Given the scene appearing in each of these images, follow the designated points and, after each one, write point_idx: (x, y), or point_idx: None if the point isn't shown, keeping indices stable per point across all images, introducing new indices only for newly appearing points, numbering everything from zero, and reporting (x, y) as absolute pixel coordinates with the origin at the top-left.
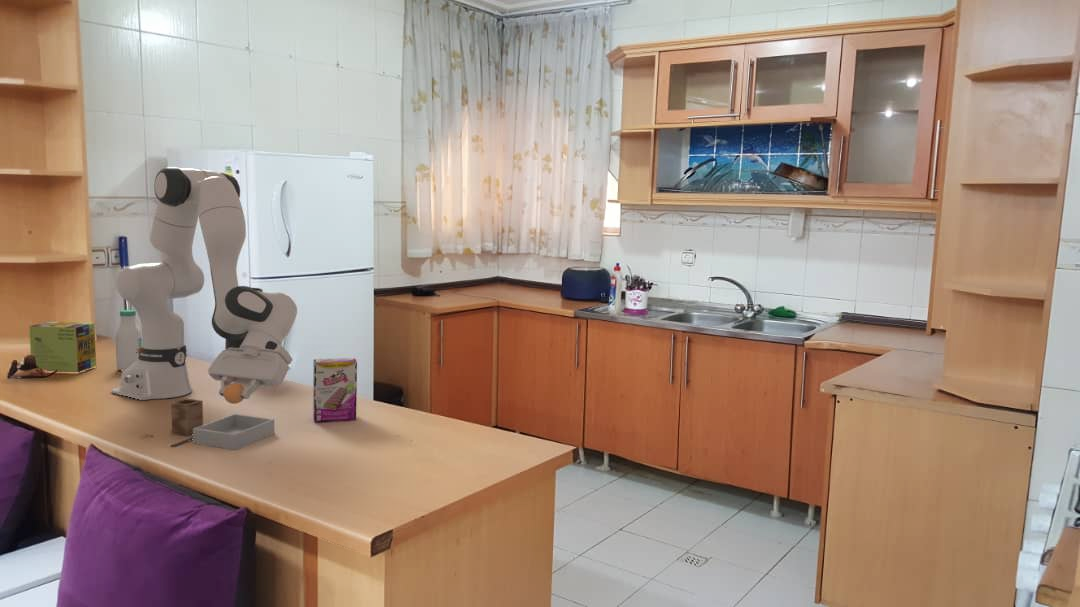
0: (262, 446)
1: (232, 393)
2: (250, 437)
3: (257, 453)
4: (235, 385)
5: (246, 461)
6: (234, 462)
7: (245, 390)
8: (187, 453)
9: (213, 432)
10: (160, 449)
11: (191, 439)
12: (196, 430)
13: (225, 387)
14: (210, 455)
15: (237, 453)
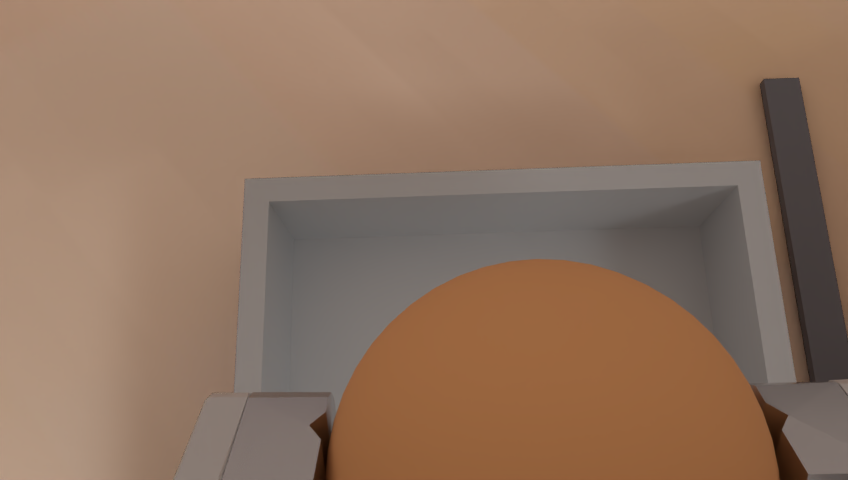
0: (126, 400)
1: (432, 289)
2: None
3: (63, 240)
4: (461, 395)
5: (39, 75)
6: (106, 28)
7: (228, 467)
8: (546, 26)
9: (498, 171)
10: (796, 7)
11: (794, 259)
12: (707, 166)
13: (821, 465)
14: (362, 62)
15: (208, 176)
